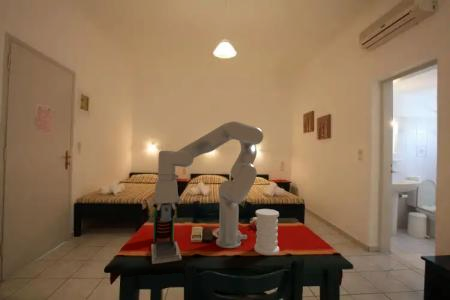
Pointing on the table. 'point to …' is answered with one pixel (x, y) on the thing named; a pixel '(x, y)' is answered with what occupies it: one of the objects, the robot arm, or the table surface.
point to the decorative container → (267, 232)
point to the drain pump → (166, 212)
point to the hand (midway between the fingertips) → (165, 217)
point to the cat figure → (253, 222)
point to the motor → (163, 229)
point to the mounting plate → (165, 252)
